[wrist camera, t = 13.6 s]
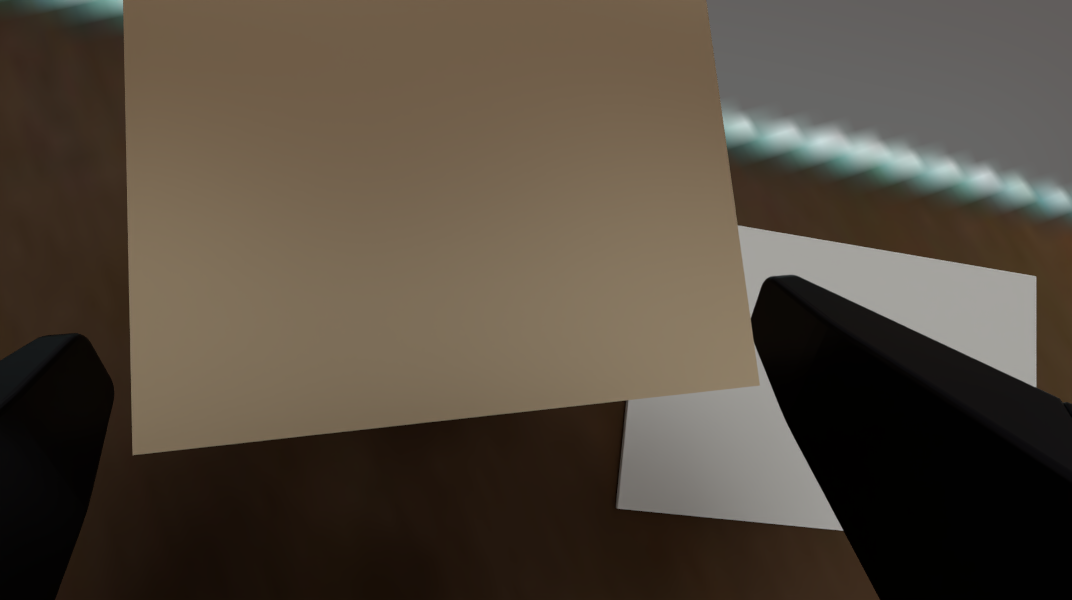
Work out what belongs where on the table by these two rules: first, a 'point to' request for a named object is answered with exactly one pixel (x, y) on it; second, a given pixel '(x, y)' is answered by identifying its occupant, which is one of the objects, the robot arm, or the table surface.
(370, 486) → the table surface
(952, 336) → the tile
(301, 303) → the oak block
